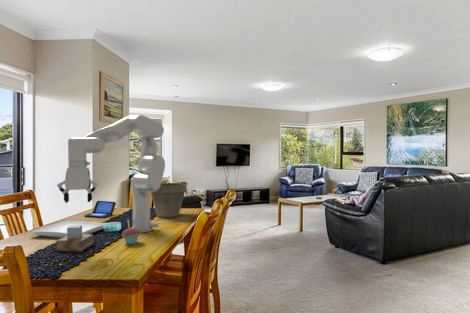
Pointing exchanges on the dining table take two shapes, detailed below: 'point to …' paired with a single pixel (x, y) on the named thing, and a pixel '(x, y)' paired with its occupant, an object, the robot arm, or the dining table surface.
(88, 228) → the square plate
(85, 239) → the walnut base
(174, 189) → the plant pot
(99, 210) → the handheld game console
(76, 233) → the slate block
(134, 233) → the cupcake
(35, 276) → the dining table surface
